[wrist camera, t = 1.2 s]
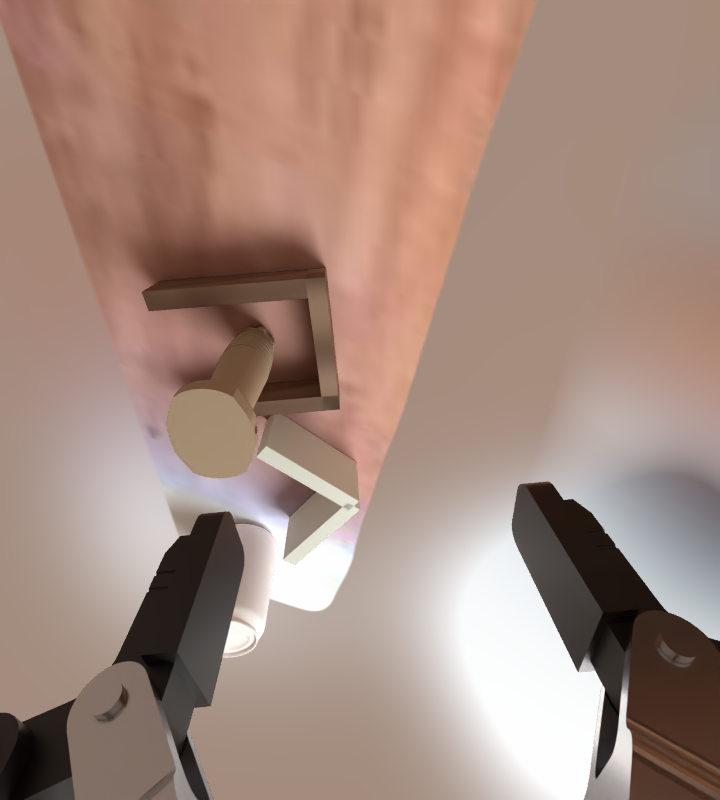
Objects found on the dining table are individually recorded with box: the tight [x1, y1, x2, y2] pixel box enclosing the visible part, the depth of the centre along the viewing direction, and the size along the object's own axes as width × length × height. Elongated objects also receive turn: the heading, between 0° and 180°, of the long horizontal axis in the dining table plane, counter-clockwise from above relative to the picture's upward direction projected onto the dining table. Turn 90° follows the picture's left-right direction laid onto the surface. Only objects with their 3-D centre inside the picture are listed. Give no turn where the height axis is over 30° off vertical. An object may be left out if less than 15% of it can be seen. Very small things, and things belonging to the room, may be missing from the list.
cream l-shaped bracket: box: [256, 414, 360, 565], centre depth 41 cm, size 17×9×6 cm, turn 4°
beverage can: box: [222, 524, 277, 658], centre depth 44 cm, size 8×8×12 cm
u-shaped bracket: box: [142, 268, 340, 416], centre depth 34 cm, size 12×14×4 cm
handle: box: [166, 326, 275, 478], centre depth 29 cm, size 5×6×15 cm
